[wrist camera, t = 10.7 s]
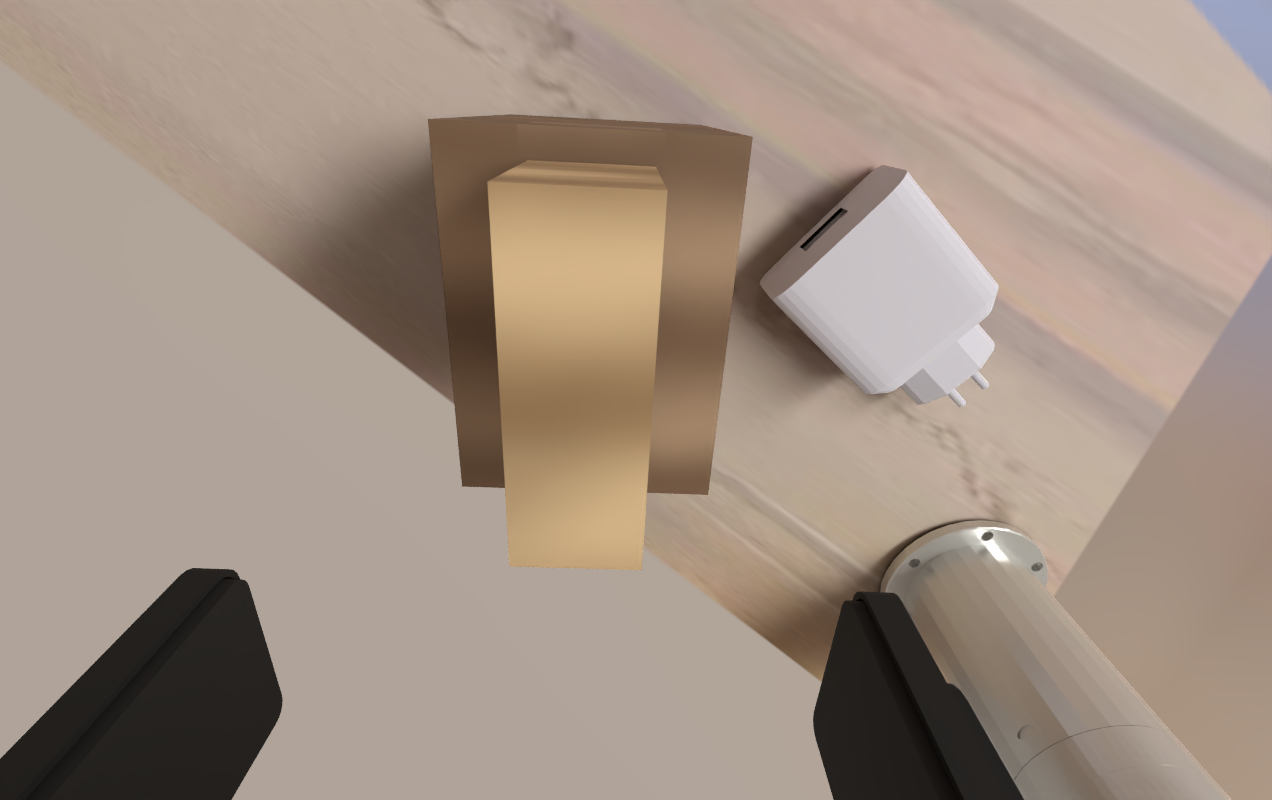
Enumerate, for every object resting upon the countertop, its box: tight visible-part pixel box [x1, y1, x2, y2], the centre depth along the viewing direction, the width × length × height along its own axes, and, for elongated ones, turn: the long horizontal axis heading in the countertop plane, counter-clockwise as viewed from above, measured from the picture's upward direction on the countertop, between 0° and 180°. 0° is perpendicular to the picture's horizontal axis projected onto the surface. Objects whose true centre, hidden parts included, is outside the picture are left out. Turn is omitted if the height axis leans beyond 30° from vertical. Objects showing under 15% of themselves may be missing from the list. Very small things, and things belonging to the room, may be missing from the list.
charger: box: [760, 165, 999, 407], centre depth 36 cm, size 5×9×15 cm
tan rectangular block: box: [487, 160, 668, 570], centre depth 21 cm, size 11×4×11 cm, turn 177°
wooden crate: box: [428, 115, 753, 495], centre depth 29 cm, size 14×10×15 cm
